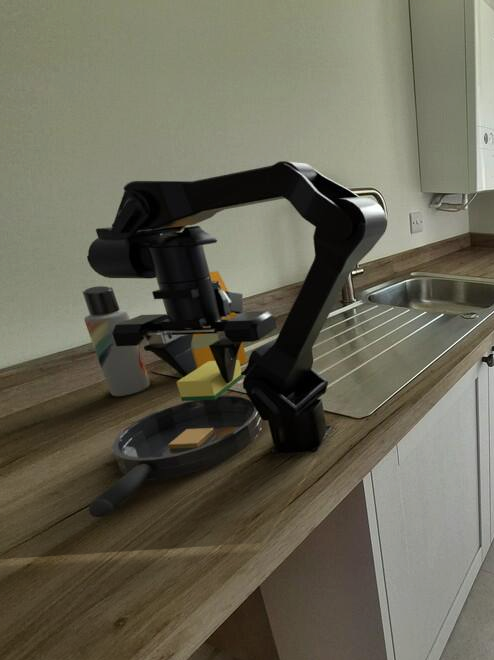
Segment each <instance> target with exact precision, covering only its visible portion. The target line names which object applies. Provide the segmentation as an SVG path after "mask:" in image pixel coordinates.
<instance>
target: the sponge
mask: <svg viewBox="0 0 494 660" xmlns="http://www.w3.org/2000/svg"><path fill="white" fill-rule="evenodd" d="M241 372H243V370H242V367H241V365H240V363H239V360H236V366H235V371H234V376H233V380H232V381H231V382H230V383H226V382H225V380H224V379H223V377H222V375H221V373H220V371H219V368H218V366H217V364H216V361H208V362H207V363H205V364H204V365H202V366H201V367H199V368H197V369H196V370H194V371H193V372H191V373H190V374H188V375H186V376H185V377H183V376H182V377H181V378H180V379H178V380H177V381H176V385H177V388H178V391H179V395H180V398H181V402H185V401H195V400H215V399H217V398H218V397H219V396H221V395H224V394H225V393H226V392H227V391H228V390H229V389H230V388H232V387H233V386H234V385H236V384H237V383H238V382H240V381H241V380H242V379H244V375H241Z"/></svg>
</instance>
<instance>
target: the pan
mask: <svg viewBox="0 0 494 660" xmlns="http://www.w3.org/2000/svg"><path fill="white" fill-rule="evenodd" d="M201 428H214V433H213V434H212V435H211V436H210V437H209V438H208V439H207V440H206V441H205V442H203V443H202V444H201V445H200V446H199V447H198V448H181V449H169V446H168V444H169V443H171V442H172V441H173V440H174V439H175V438H177V437H178V436H179V435H180V434H181V433H183V432H184V431H185V430H186V429H201ZM262 428H263V420H262V418H261V417H260V415H259V413H258V412H257V410H256V409H255V407H254V405H253V404H252V402H251V400H250V399H249V397H248V396H247V395H239V394H222V395H221V396H219V397H218V398H217V399H215V400H195V401H181V402H179V403H176V404H173V405H170V406H166V407H164V408H162V409H159V410H157V411H154V412H152V413H149V414H148V415H146V416H144V417H142V418H140V419H139V420H136V421H135V422H133V423H132V424H130V425H129V426H128V427H126V428H124V429H123V430H122V431H121V432H120V433H119V434H118V435H117V436H116V437H115V439H114V440H113V442H112V445H111V449H112V452H113V455H114V458H115V461H116V463H117V466H118V468H119V471H120V473H122V474H123V476H124V475H126V474H127V473H128V472H129V471H131V470H132V469H133V468H134V467H136V466H138V465H141V464H147V465H149V466H151V467H152V469H153V474H152V476H151V477H150V478H149V479H148V480H150V481H152V480H164V479H169V478H175V477H180V476H184V475H187V474H191V473H194V472H198V471H200V470H203V469H206V468H209V467H211V466H213V465H215V464H218V463H221V462H222V461H225V460H227V459H228V458H230V457H232V456H234V455H236V454H237V453H239V452H240V451H242V450H243V449H245V448H246V447H247V446H249V445H250V444H251V443H252V442H253V441H254V440H255V439H256V438H257V437H258V435H259V434H260V432H261V430H262ZM148 480H147V481H148Z"/></svg>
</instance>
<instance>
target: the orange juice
mask: <svg viewBox="0 0 494 660" xmlns="http://www.w3.org/2000/svg"><path fill="white" fill-rule="evenodd" d="M209 272H210V276H211V280H212V281H218V283H219V284H220V286H221V289H222V291H229V290H228V288H227V286H226V284H225V282H224V280H223V279H222V276H221V275H220V273H219V271H218V270H216V271H209ZM235 316H237V314H236V313H231V314H230V315H228V316H224V317H221V320H228V319H232V318H234V317H235ZM203 327H204V326H203ZM208 327H211V326H208ZM218 340H219V339H218V335H217V333H213V334H193V338H192V343H191V348H192V352H193V355H194V359H195V363H196V366H197V368H199V367H201V366H202V365H204V364H205V363H207V362H208V361H215V359H214V357H213V354H212V352H211V350H210V347H209V345H211V344H213V343H214V342H216V341H218ZM237 360H239V363H240V366H241V365H244V364H248V359H247V355H246V351H245V348H244V342H242V343H241V346H240V349H239V351H238V355H237Z"/></svg>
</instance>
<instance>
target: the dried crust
mask: <svg viewBox="0 0 494 660" xmlns="http://www.w3.org/2000/svg"><path fill="white" fill-rule="evenodd" d="M213 433H214V428H201V429H186V430H185V431H184V432H183V433H181V434H180V435H179V436H178V437H177V438H175V439H174V440H173V441H172V442H171V443H169V444H168V446H169V449H181V448H198V447H199V446H200V445H201V444H202V443H203V442H205V441H206V440H207V439H208V438H209V437H210V436H211V435H212V434H213Z"/></svg>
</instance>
